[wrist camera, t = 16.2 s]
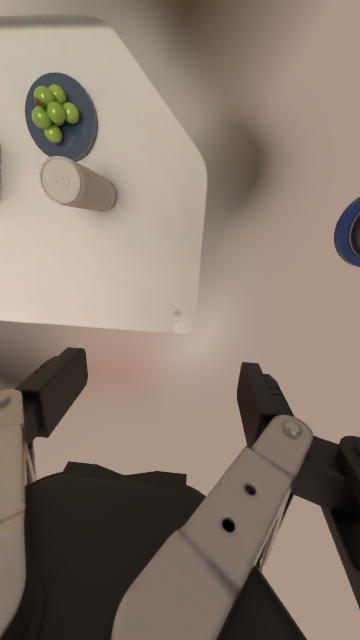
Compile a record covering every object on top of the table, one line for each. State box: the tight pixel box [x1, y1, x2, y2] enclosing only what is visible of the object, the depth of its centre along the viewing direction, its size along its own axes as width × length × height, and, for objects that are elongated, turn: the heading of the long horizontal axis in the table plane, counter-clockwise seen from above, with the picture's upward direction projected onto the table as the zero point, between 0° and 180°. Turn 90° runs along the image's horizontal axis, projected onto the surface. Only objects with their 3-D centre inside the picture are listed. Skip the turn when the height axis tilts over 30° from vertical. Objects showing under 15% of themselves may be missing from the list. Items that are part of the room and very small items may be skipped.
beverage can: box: [40, 156, 116, 212], centre depth 32 cm, size 5×5×12 cm
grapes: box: [25, 73, 97, 162], centre depth 31 cm, size 10×10×6 cm
